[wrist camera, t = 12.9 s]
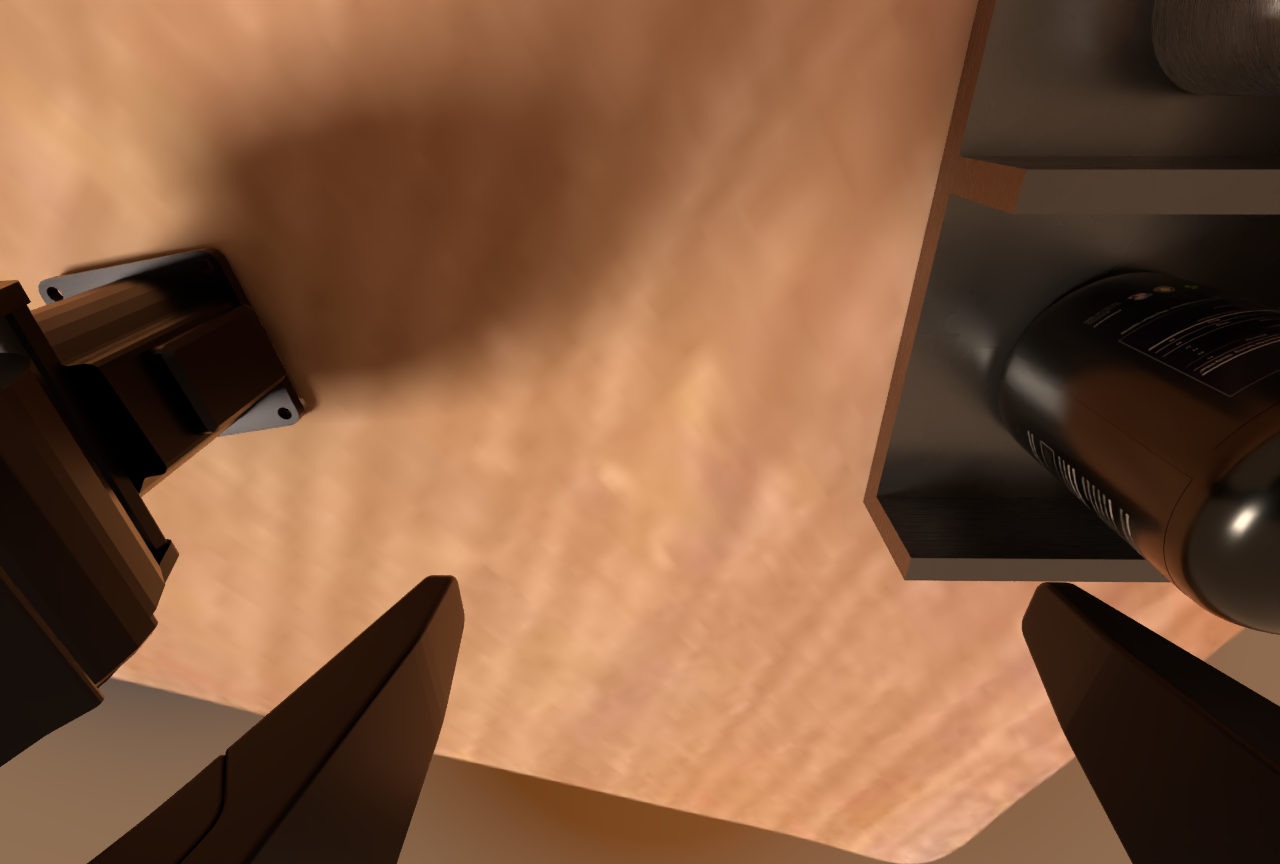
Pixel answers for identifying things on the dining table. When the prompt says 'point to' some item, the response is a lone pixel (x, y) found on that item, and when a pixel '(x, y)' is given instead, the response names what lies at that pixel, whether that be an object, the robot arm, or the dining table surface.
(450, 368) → the dining table surface
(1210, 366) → the supplement bottle
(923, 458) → the condiment caddy
